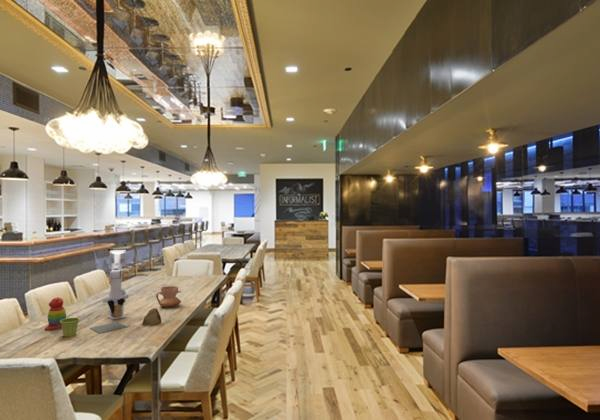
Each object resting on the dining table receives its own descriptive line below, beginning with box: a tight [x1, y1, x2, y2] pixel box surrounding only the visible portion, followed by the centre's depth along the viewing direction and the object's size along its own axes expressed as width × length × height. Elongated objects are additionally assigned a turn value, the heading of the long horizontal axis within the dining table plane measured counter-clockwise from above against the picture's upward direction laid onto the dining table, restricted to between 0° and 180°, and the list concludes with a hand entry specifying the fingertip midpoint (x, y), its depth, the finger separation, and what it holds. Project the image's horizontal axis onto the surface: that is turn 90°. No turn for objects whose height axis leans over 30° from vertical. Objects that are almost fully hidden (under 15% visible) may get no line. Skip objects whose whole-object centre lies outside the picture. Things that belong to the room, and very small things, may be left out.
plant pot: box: [60, 317, 81, 338], centre depth 208 cm, size 9×9×9 cm
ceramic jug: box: [155, 285, 182, 309], centre depth 272 cm, size 18×14×14 cm
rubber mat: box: [89, 321, 129, 334], centre depth 222 cm, size 14×16×1 cm
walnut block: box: [111, 304, 122, 318], centre depth 225 cm, size 6×4×7 cm, turn 50°
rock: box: [142, 307, 162, 326], centre depth 231 cm, size 11×9×10 cm
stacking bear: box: [44, 296, 67, 332], centre depth 223 cm, size 11×10×18 cm
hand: (115, 312), depth 225 cm, fingers closed on walnut block, 3 cm apart
